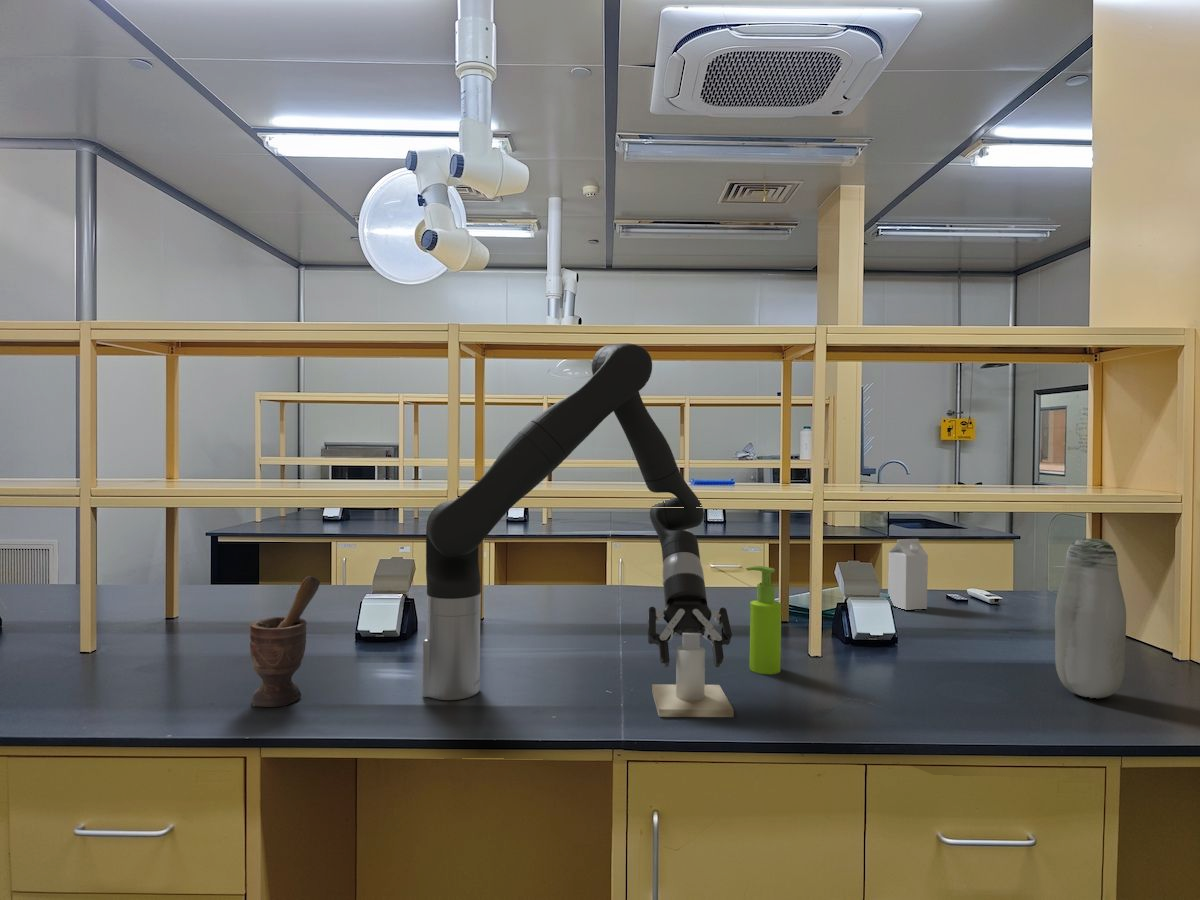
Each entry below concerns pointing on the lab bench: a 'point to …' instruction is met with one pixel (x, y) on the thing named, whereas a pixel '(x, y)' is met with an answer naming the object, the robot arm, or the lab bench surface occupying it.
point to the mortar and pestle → (281, 650)
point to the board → (691, 703)
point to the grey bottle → (1090, 621)
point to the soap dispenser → (765, 626)
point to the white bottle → (690, 668)
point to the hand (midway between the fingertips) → (692, 664)
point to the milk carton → (908, 575)
